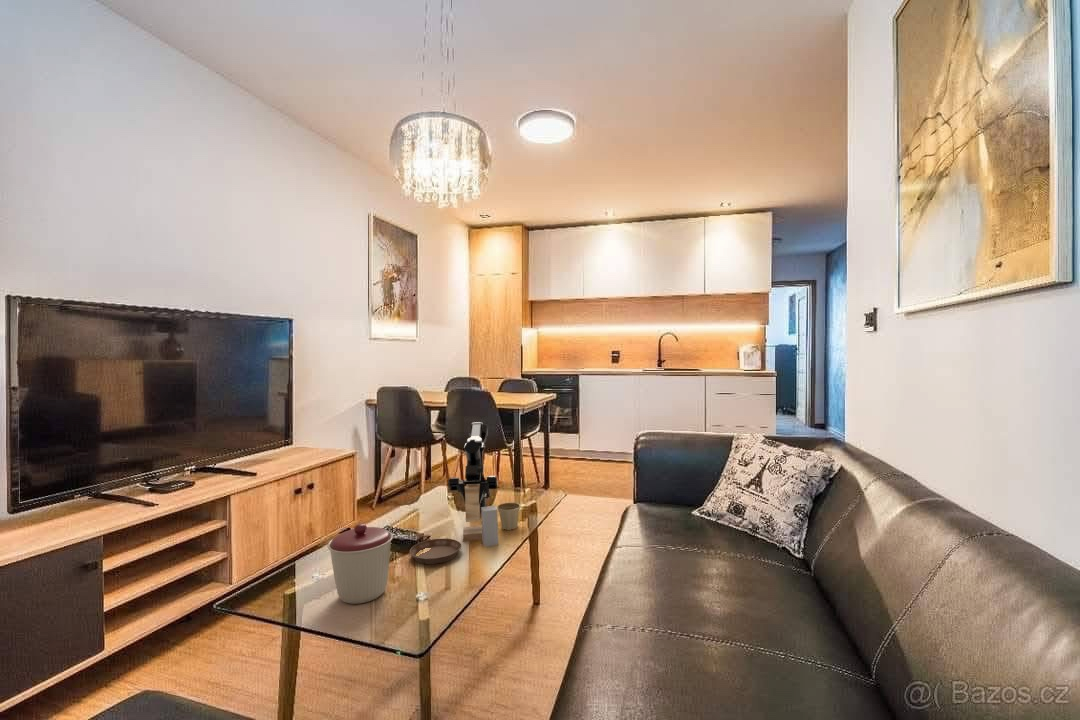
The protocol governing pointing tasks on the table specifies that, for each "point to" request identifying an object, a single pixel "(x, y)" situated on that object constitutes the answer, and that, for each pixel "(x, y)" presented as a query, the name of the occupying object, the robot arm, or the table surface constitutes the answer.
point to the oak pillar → (472, 502)
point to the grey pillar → (489, 526)
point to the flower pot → (509, 515)
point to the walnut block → (472, 533)
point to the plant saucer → (436, 550)
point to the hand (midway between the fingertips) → (472, 503)
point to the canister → (361, 563)
